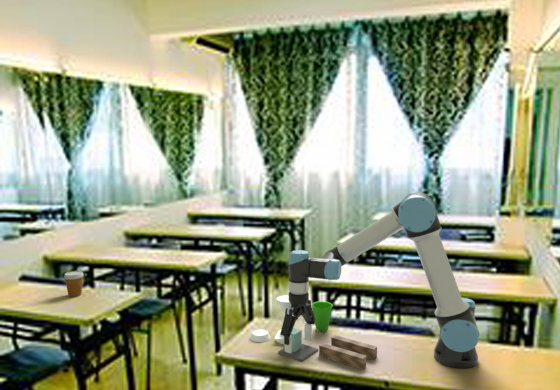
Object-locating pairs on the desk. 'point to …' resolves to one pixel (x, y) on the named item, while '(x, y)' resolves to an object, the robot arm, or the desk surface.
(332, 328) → the desk surface
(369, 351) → the parallel wooden bars
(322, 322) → the cup
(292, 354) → the rubber mat
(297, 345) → the teal block
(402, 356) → the desk surface
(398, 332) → the desk surface
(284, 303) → the hourglass
